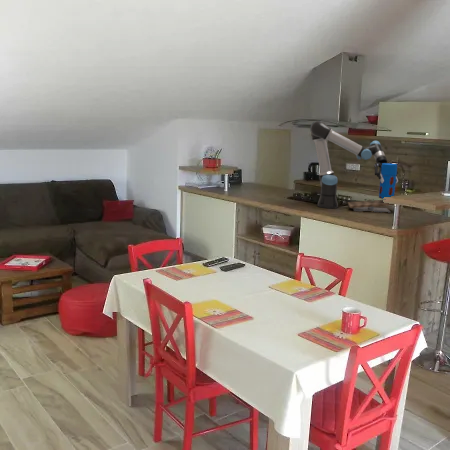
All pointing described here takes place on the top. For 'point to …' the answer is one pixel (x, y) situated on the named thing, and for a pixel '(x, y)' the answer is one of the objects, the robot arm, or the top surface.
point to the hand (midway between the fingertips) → (389, 182)
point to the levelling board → (368, 203)
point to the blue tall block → (388, 180)
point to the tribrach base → (372, 209)
